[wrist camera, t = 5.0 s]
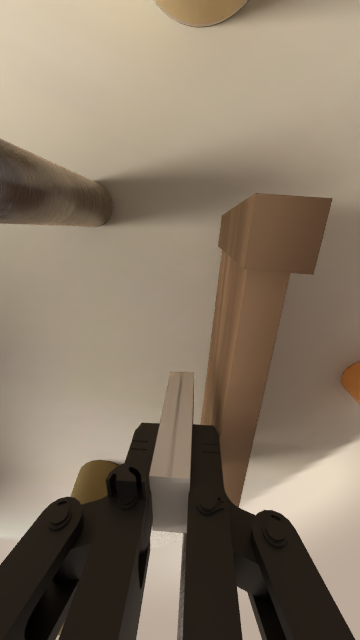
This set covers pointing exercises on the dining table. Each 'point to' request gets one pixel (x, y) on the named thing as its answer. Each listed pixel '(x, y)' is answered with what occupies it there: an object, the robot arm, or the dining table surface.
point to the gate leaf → (253, 313)
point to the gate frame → (56, 218)
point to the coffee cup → (200, 10)
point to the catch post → (352, 381)
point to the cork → (92, 483)
